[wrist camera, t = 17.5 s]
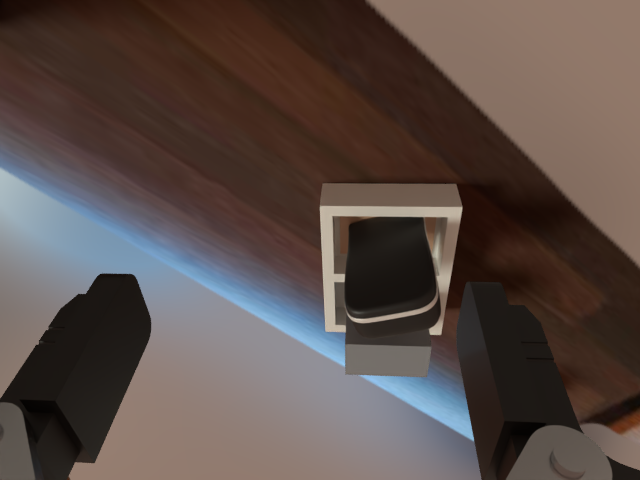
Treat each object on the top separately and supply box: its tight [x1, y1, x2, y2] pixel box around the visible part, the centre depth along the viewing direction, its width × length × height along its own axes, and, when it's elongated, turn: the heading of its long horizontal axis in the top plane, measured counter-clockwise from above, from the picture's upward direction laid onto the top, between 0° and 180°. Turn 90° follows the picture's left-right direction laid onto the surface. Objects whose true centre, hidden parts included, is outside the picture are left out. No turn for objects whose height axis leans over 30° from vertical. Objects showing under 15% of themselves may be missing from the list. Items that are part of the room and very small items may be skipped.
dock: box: [320, 183, 463, 377], centre depth 43 cm, size 11×15×10 cm
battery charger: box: [344, 217, 441, 339], centre depth 39 cm, size 7×4×11 cm, turn 109°
